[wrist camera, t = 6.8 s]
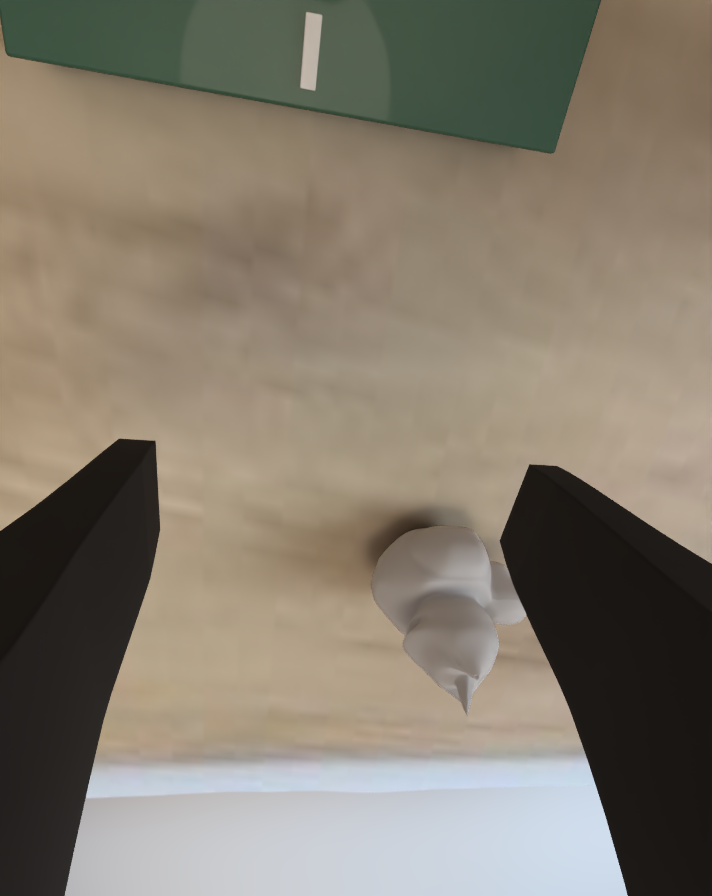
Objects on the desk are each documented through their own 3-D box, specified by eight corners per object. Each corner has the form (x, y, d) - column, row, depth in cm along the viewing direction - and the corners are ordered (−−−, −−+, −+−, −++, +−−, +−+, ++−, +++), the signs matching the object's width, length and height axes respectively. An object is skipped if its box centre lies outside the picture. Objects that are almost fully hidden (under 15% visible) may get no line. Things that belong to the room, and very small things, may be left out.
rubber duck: (376, 499, 23) (417, 665, 16) (519, 508, 24) (613, 665, 17) (355, 589, 25) (383, 762, 19) (484, 592, 27) (553, 755, 20)
